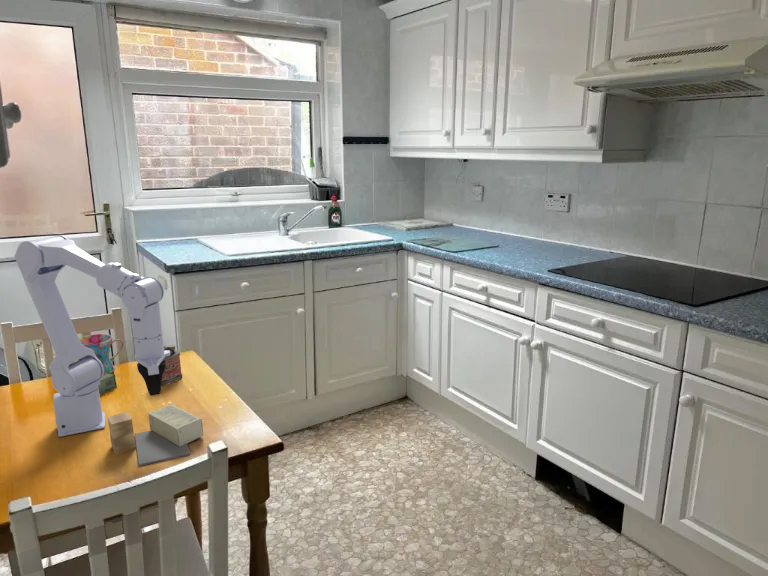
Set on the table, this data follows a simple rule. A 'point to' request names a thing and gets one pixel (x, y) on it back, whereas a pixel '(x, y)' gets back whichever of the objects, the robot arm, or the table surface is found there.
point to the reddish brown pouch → (171, 366)
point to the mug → (101, 349)
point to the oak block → (121, 433)
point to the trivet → (157, 448)
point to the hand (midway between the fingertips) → (154, 393)
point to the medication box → (107, 383)
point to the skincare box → (176, 424)
